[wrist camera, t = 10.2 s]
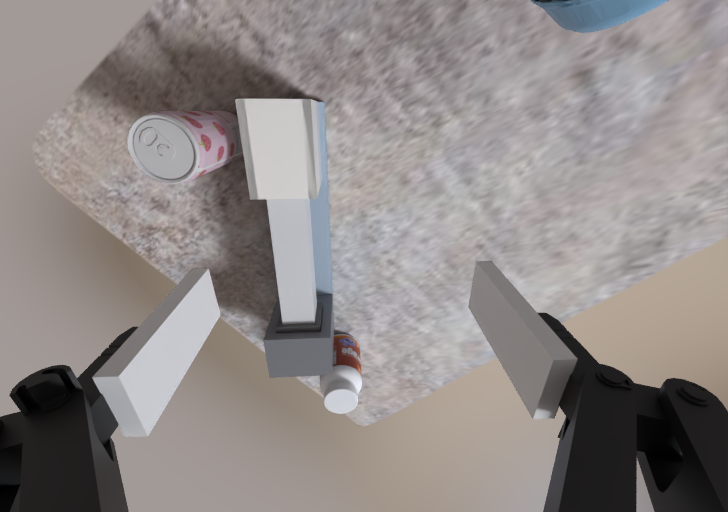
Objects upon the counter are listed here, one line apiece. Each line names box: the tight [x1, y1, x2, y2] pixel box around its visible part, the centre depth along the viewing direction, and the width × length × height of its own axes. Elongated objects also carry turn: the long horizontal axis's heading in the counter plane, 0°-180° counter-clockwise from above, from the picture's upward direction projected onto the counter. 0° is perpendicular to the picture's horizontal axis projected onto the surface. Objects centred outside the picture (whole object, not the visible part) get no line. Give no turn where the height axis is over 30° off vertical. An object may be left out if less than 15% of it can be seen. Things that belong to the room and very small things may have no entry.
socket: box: [264, 294, 334, 378], centre depth 44 cm, size 6×8×10 cm
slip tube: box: [267, 199, 323, 333], centre depth 38 cm, size 24×5×5 cm, turn 0°
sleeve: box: [235, 99, 322, 200], centre depth 34 cm, size 9×7×9 cm
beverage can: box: [128, 111, 243, 184], centre depth 31 cm, size 6×6×15 cm
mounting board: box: [266, 102, 334, 314], centre depth 43 cm, size 32×8×1 cm, turn 0°
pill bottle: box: [320, 334, 362, 414], centre depth 48 cm, size 6×6×11 cm
